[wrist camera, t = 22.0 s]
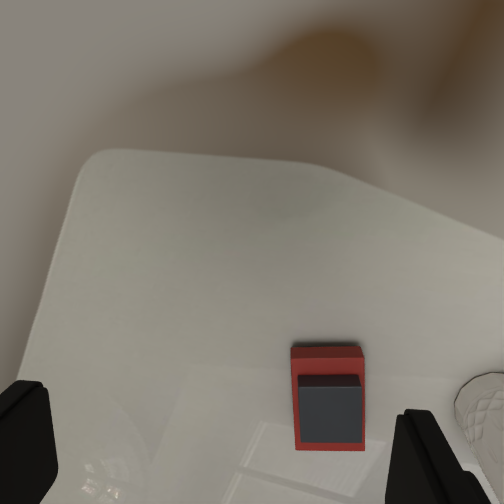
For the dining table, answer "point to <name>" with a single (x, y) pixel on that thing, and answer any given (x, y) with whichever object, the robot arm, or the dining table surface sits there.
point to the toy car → (328, 398)
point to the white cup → (485, 425)
